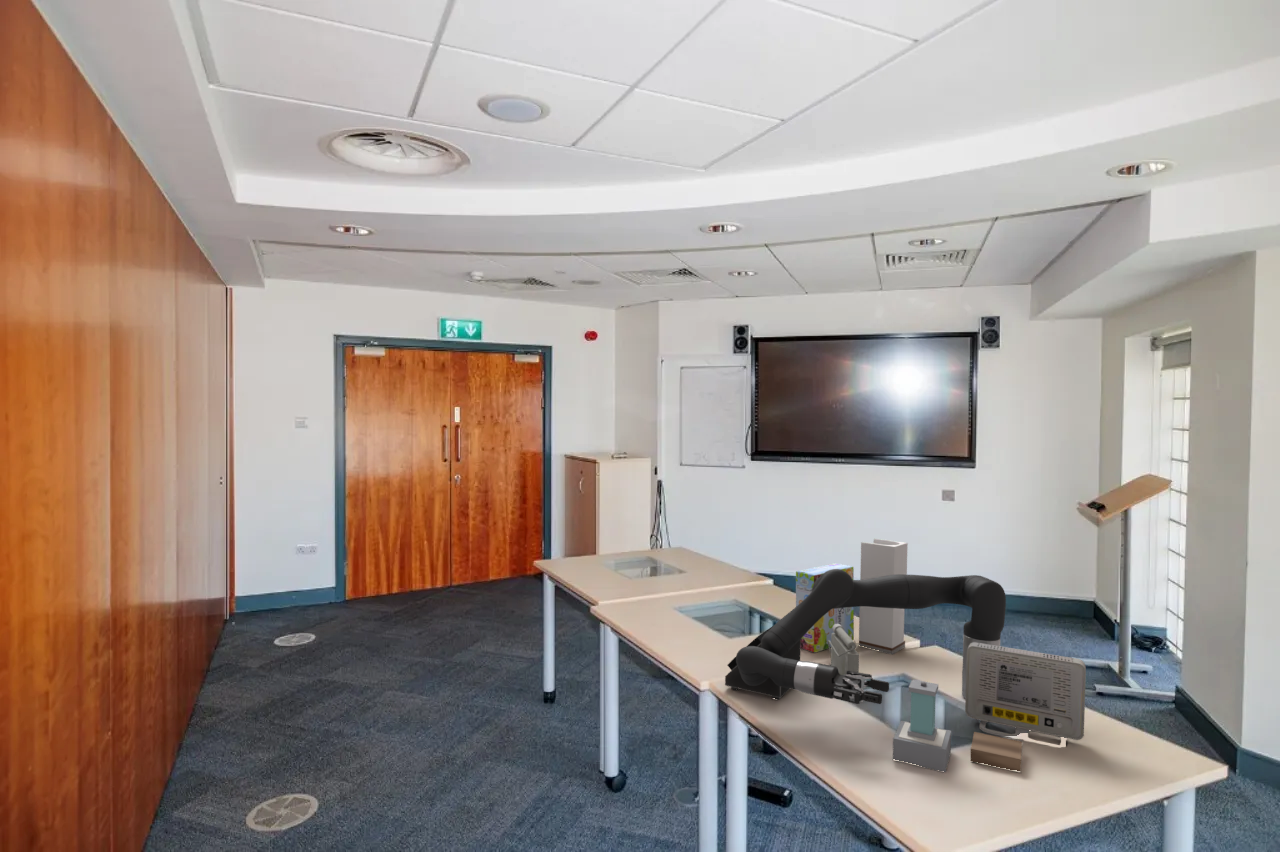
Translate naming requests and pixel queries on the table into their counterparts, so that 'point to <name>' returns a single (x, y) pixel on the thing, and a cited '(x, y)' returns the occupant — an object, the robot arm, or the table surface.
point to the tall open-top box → (877, 623)
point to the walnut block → (996, 751)
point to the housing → (922, 710)
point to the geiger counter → (843, 651)
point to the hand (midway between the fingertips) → (885, 693)
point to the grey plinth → (922, 748)
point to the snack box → (823, 627)
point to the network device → (1025, 690)
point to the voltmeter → (768, 686)
